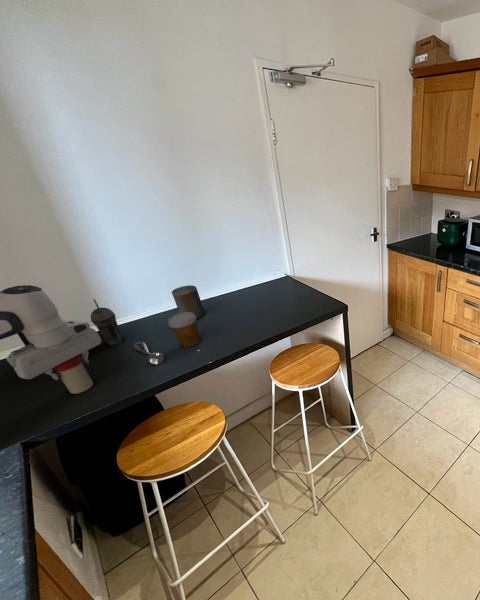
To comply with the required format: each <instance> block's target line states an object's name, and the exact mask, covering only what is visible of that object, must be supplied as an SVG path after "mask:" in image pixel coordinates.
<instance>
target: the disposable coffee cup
mask: <svg viewBox="0 0 480 600" xmlns="http://www.w3.org/2000/svg"><path fill="white" fill-rule="evenodd" d="M196 318H197V317H196V315H194V313H191V312H184V313H179V312H178V313H176V314H174V315H172V316H171V317H169V318H168V323H167V325H168V326H169V327H170V328H171V330H172V331H173V333H174V335H175V337H176V338H177V340H178V341H179V343H180V345H181V346H182V347H183V348H190V347H194V346H196V345H197V344H199V343H200V341H201V340H200V335H199V328H198V324H197V323H198V322H197V319H196Z"/></svg>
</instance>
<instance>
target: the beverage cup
mask: <svg viewBox="0 0 480 600" xmlns="http://www.w3.org/2000/svg"><path fill="white" fill-rule="evenodd" d="M93 303H94V304H95V306H96V308H95V309H94V310H93V311H92V312H91V314H90V321H91V323H92V324H93V325H94V326H95V327H96V328H97V330H98V331H99V333H100V334H101V336H102V337H103V339H104V340H105V342H106V343H107V344H108V345H109V346H114V345H118V344H120V343H121V342H122V341H123V337H122V333H121V331H120V328H119V325H118V322H117V316H116V314H115V313H114V311H113V310H112V309H110V308H107V307H100V306H99V304H98V302H97V301H96V299H93Z"/></svg>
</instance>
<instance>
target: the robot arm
mask: <svg viewBox="0 0 480 600" xmlns="http://www.w3.org/2000/svg"><path fill="white" fill-rule="evenodd" d="M19 332H22V333H23V334H24V335H25V337H26V338H27V340H28V341H29V343H30V344H28V345H26V346H25V345H24V346H22V347H20V348H18V349H15V350H12V351H11V352H10V354H9V355H7V357H6V361H7V363H8V364H9V365H10V366H11V367H13V370H14V372H15V373H16V375H17V376H18V378H20V379H23V380H33V379H34V378H36V377H39V376H41V375H42V374H45V375H48V376H50V377H51V378H52V379H53V380H54V381H58V380H59V379H60V380H61V378H62V376H61V374H60V373H58V372H56V371H54V370H53V369H52V368H54V367H56V366H58V365H60V364H62V363H64V362H66V361H68V360H70V359H72V358H74V357H75V356H77V355H79V356H80V355H81V356H80V357H81V359H82V361H81V362H82V364H83V366H86V365H88V364H89V363H90V361H89V360H88V359H89V355H90V354H89V350H92V349H93V348H96V347H97V346H99V345H101V343H102V338H101V336H100V334H99V333H98V332H97V331H96V329H94V328H92V327H91V325H90V323H89V322H87V321H84V320H78V319H71V320H66V321H65V320H64V319H63V318H62V317H61V315H60V313H59V309H58V307H57V305H56V303H55V302H54V301H53V299H52V297H50V295H49V294H48V293H47V292H46V291H45V290H44V289H43V288H41V287H40V286H36V285H31V284H30V285H28V284H24V285H22V284H21V285H14V286H11V287H7V288H4V289H2V290H0V340H4V339H7V338H10V337H13V336H15V335H18V334H17V333H19ZM53 371H54V373H53Z"/></svg>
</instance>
